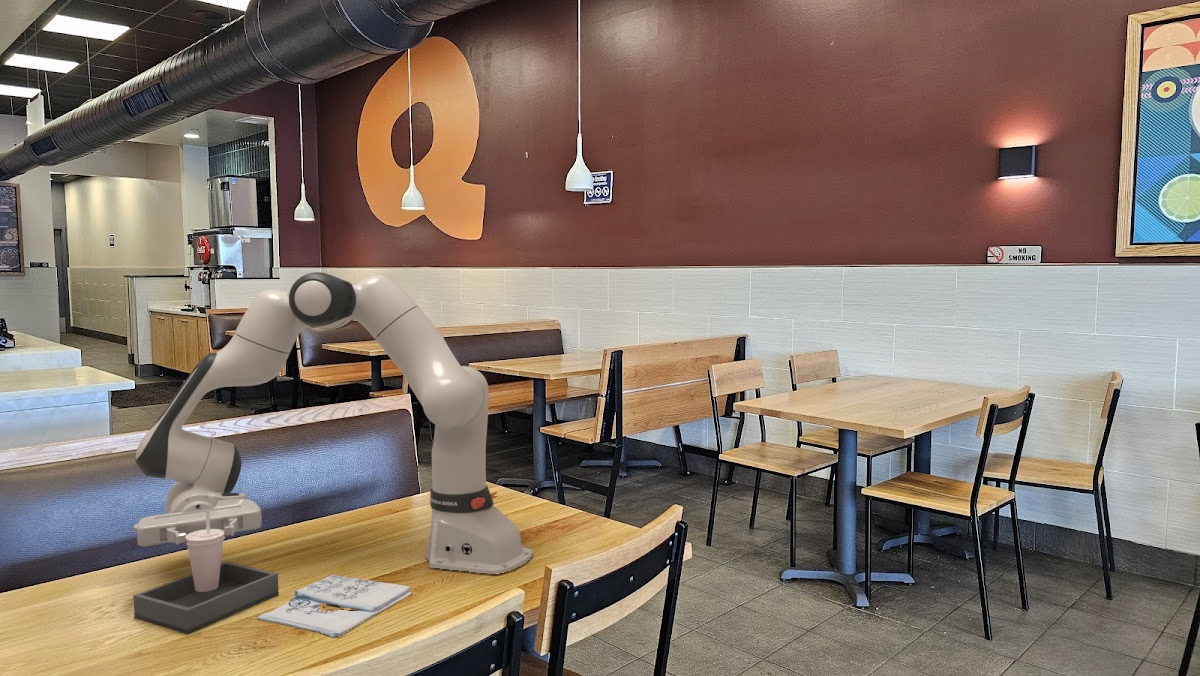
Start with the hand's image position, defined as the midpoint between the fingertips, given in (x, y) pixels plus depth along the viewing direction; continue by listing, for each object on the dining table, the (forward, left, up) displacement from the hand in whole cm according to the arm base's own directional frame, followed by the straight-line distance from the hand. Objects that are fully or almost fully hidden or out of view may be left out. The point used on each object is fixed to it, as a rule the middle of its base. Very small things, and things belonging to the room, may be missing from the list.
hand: (205, 535), depth 137 cm
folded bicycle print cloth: (-19, -10, -14) cm, 26 cm away
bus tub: (+1, 0, -13) cm, 13 cm away
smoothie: (+1, 0, -10) cm, 10 cm away
